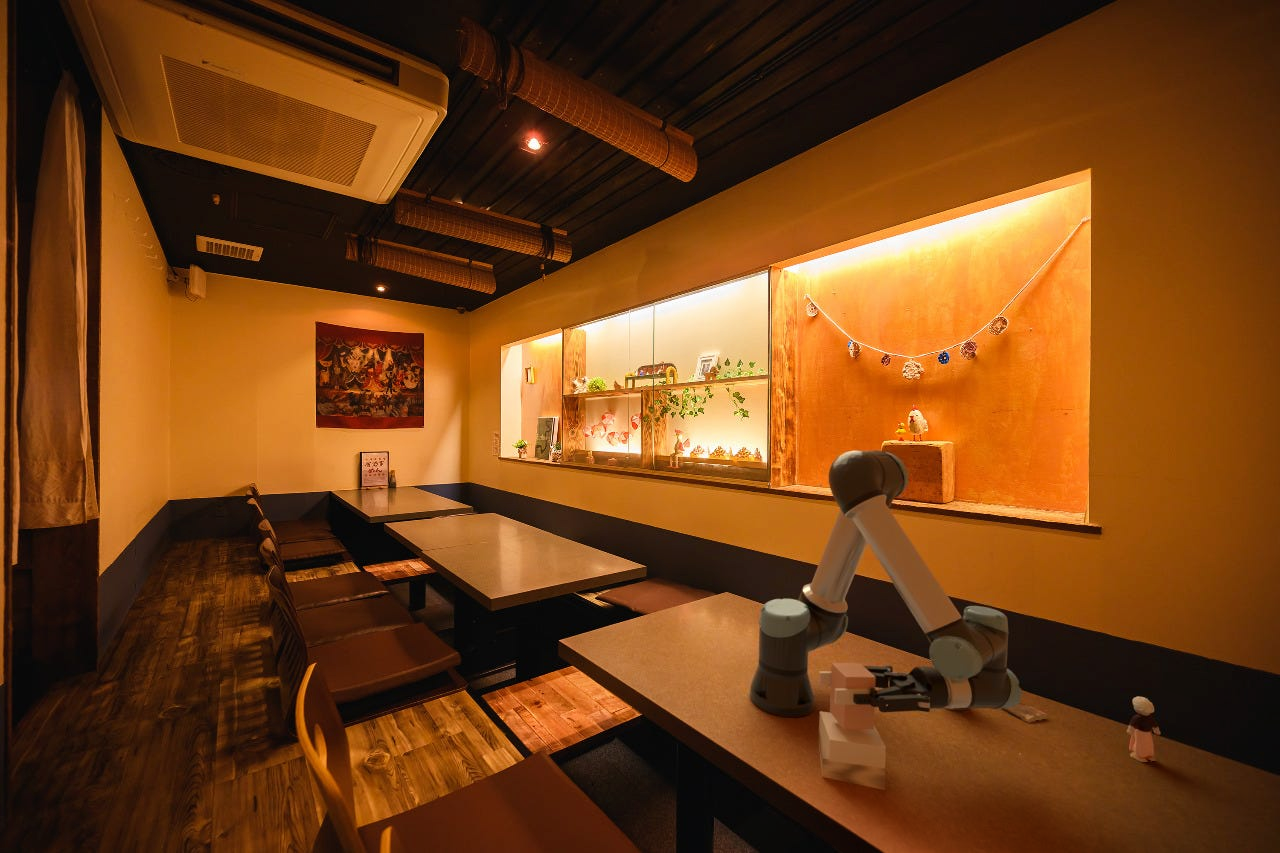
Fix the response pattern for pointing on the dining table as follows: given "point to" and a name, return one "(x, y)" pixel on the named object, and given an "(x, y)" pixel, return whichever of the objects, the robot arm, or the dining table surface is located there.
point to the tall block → (852, 678)
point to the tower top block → (851, 743)
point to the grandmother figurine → (1142, 730)
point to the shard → (1026, 712)
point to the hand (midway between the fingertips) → (827, 687)
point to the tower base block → (851, 771)
